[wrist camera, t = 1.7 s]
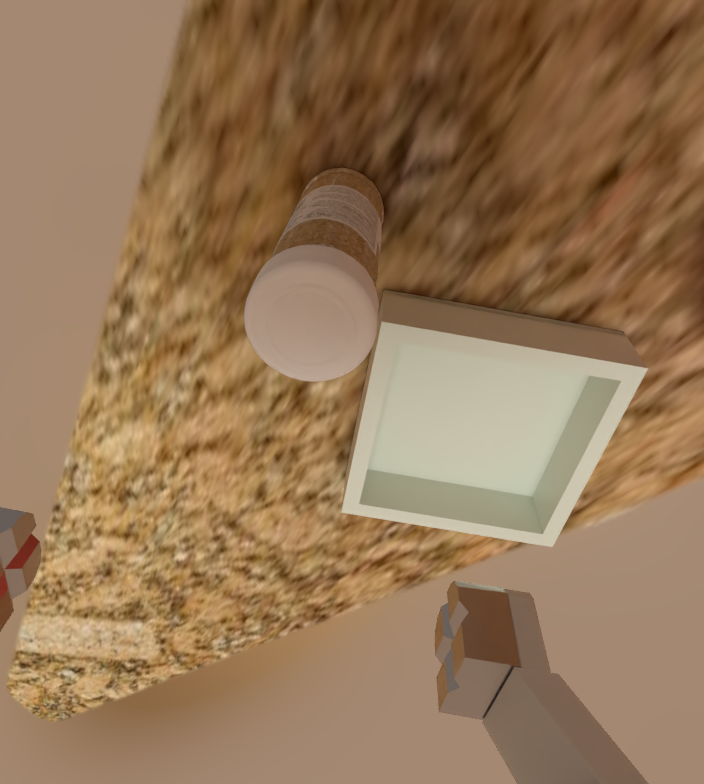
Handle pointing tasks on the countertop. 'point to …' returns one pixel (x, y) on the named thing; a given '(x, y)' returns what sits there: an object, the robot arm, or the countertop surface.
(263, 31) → the countertop surface
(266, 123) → the countertop surface
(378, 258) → the sprinkles bottle
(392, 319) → the bin
